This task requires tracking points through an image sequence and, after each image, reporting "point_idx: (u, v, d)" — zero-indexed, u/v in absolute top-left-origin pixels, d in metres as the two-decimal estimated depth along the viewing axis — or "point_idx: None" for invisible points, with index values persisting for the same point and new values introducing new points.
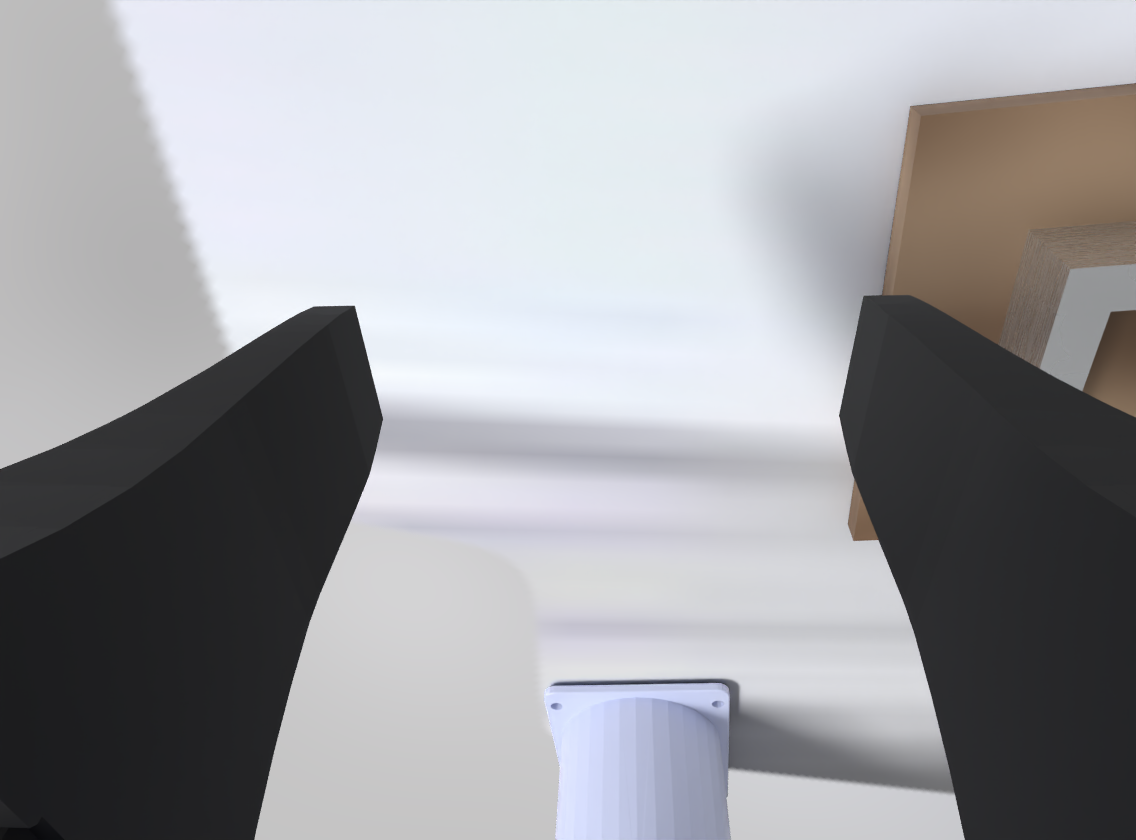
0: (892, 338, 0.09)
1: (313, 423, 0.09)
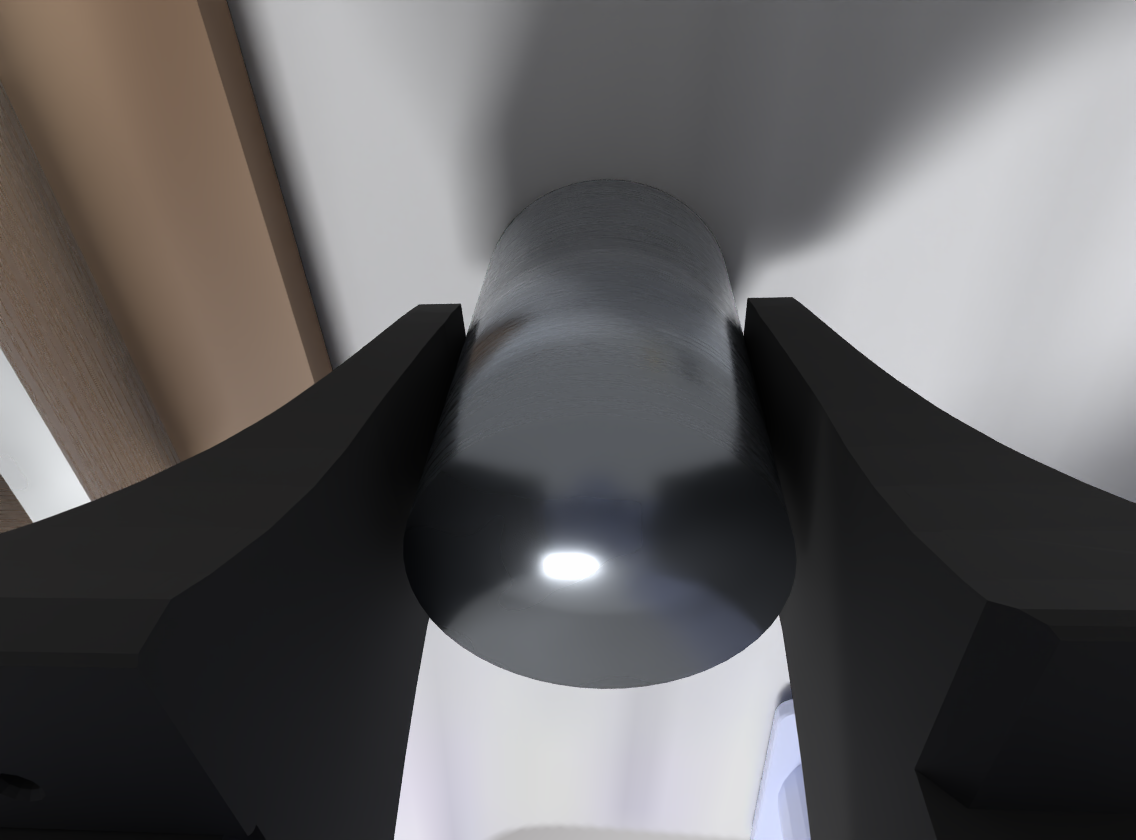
0: (763, 340, 0.09)
1: (432, 422, 0.09)
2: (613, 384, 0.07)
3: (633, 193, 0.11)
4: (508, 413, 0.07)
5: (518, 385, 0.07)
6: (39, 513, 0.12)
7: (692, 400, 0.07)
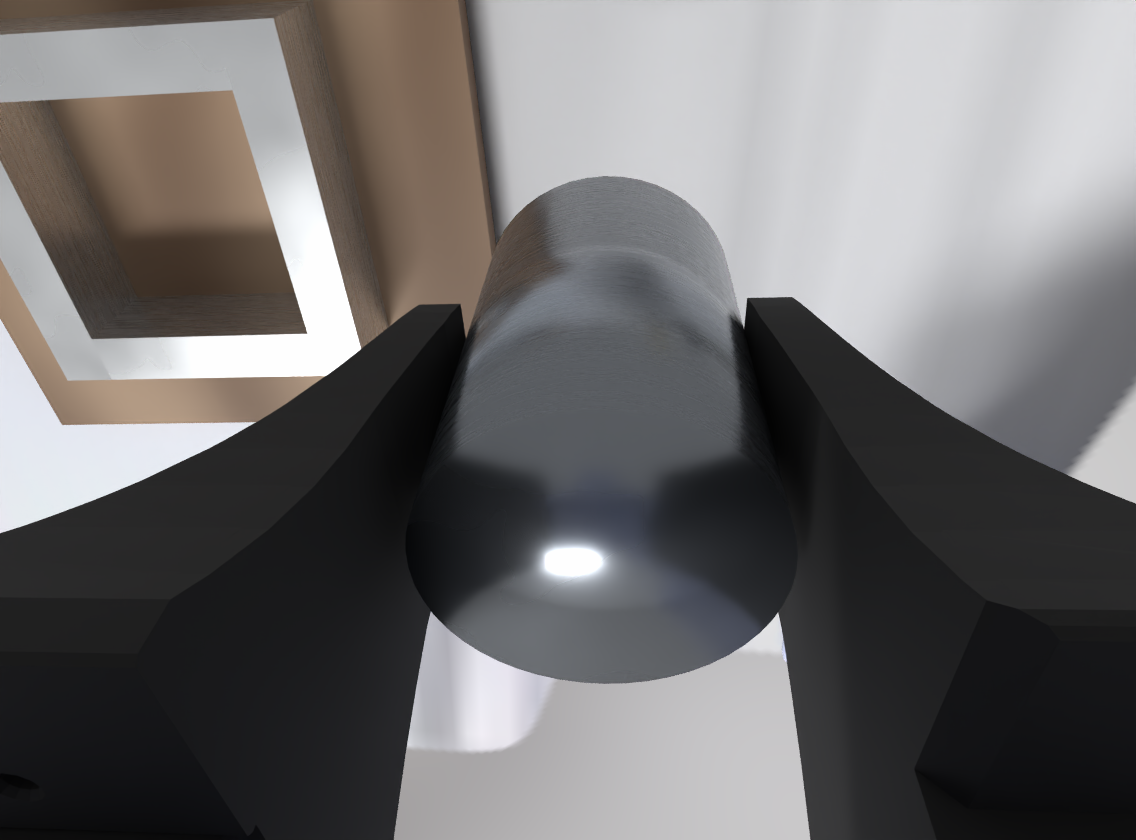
0: (763, 340, 0.09)
1: (433, 422, 0.09)
2: (616, 379, 0.07)
3: (634, 189, 0.11)
4: (509, 408, 0.07)
5: (520, 379, 0.07)
6: (308, 306, 0.18)
7: (693, 394, 0.07)
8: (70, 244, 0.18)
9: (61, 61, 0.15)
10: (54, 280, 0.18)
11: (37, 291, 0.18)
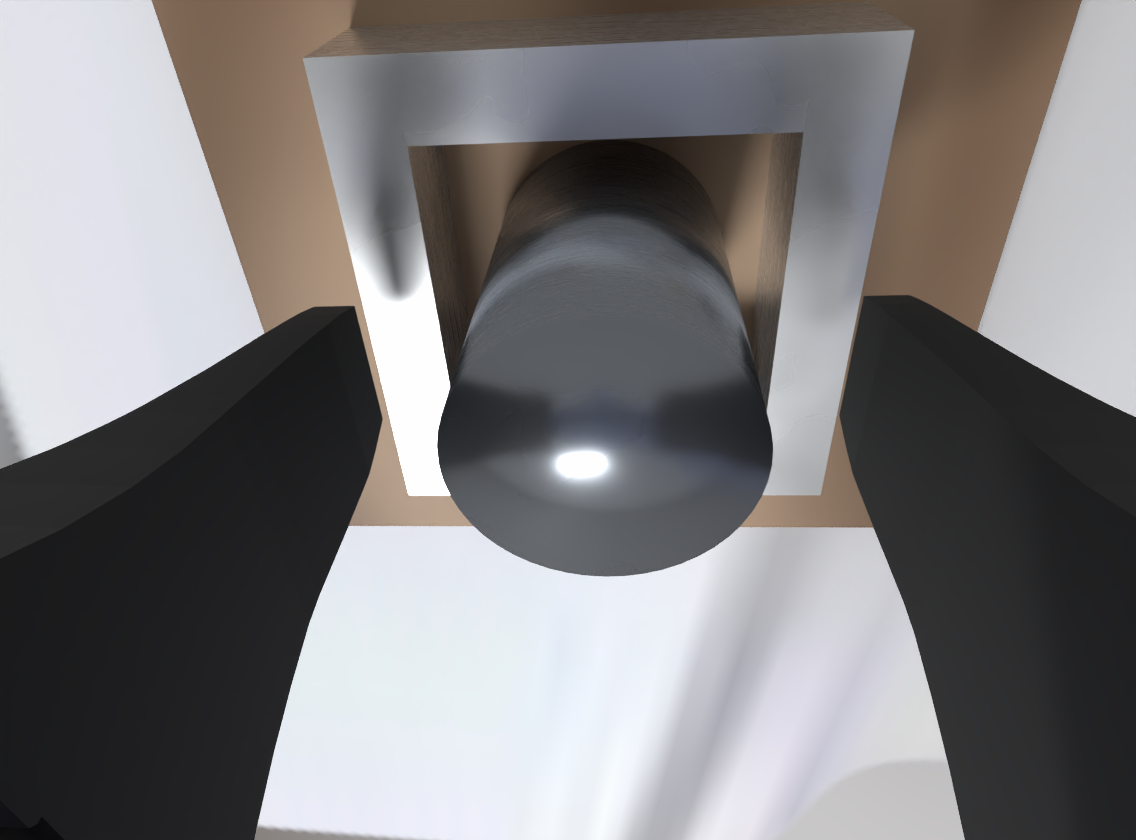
0: (892, 338, 0.09)
1: (313, 423, 0.09)
2: (618, 293, 0.08)
3: (634, 151, 0.12)
4: (528, 316, 0.08)
5: (536, 296, 0.09)
6: (779, 413, 0.13)
7: (683, 307, 0.08)
8: (451, 326, 0.13)
9: (565, 88, 0.10)
10: (438, 377, 0.13)
11: (409, 389, 0.13)
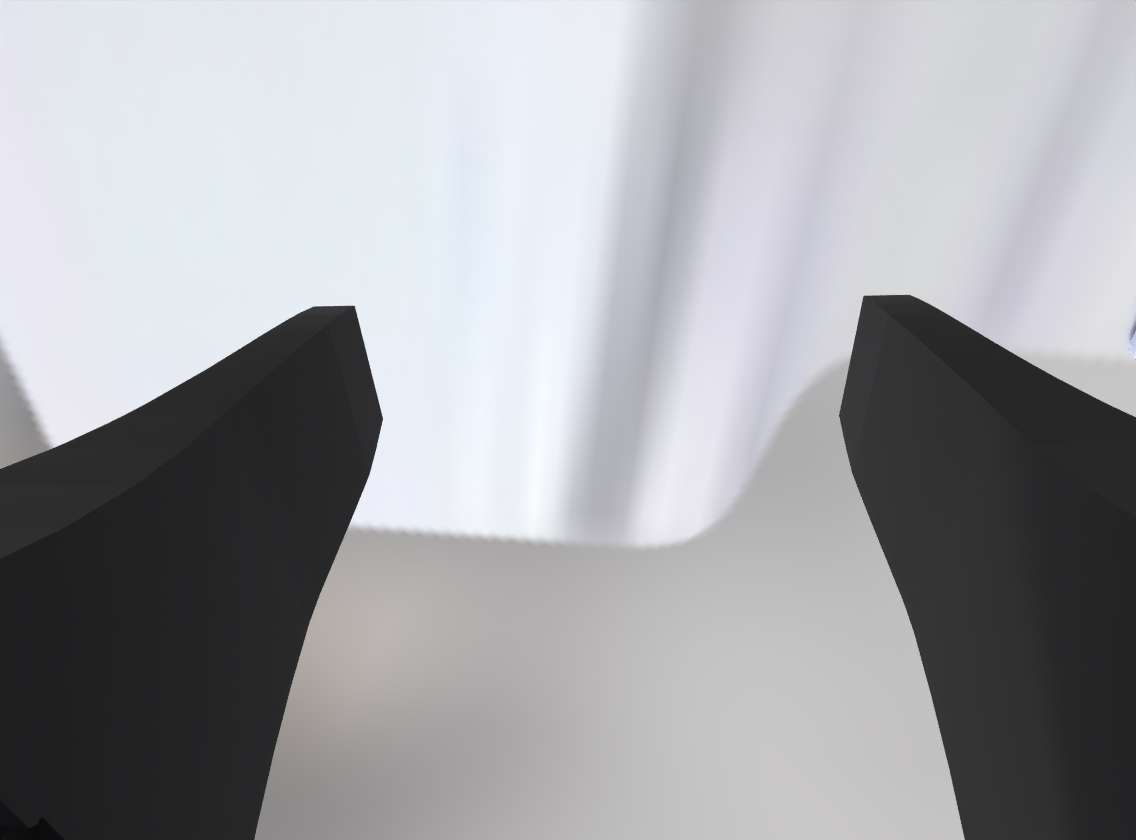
0: (892, 338, 0.09)
1: (313, 423, 0.09)
2: None
3: None
4: None
5: None
6: None
7: None
8: None
9: None
10: None
11: None
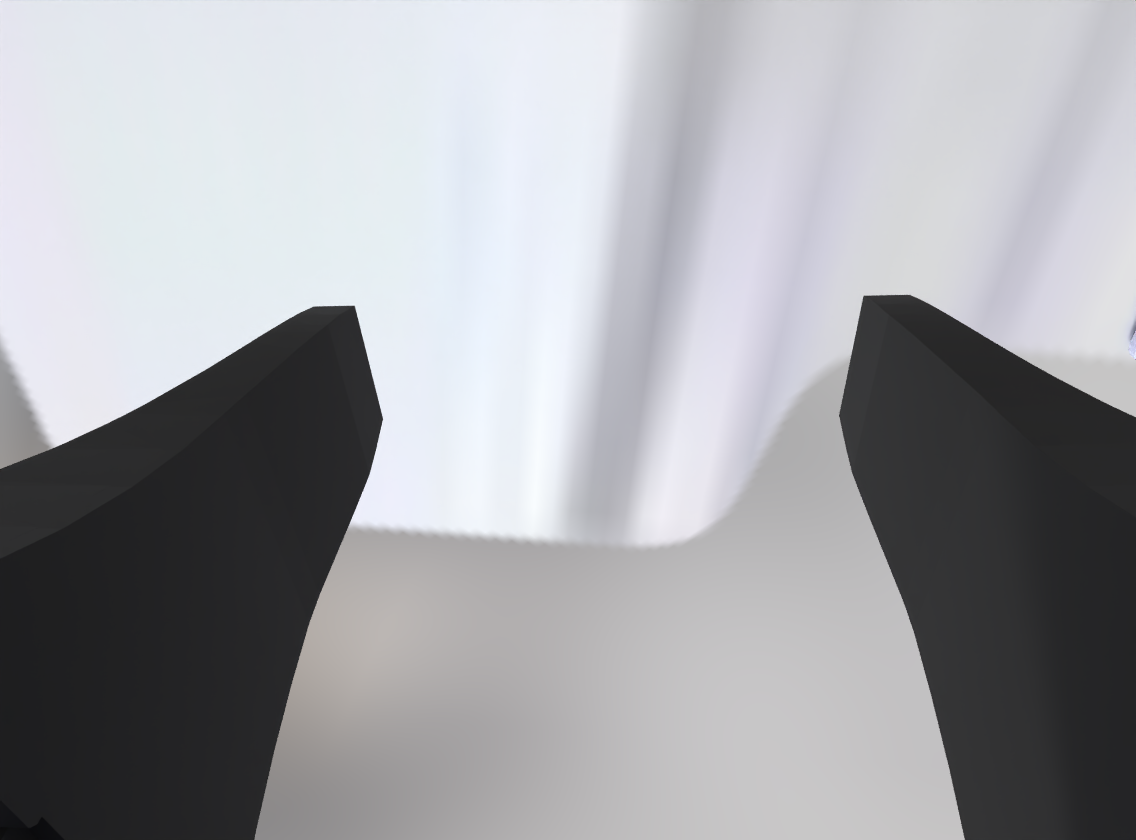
0: (892, 338, 0.09)
1: (313, 423, 0.09)
2: None
3: None
4: None
5: None
6: None
7: None
8: None
9: None
10: None
11: None
